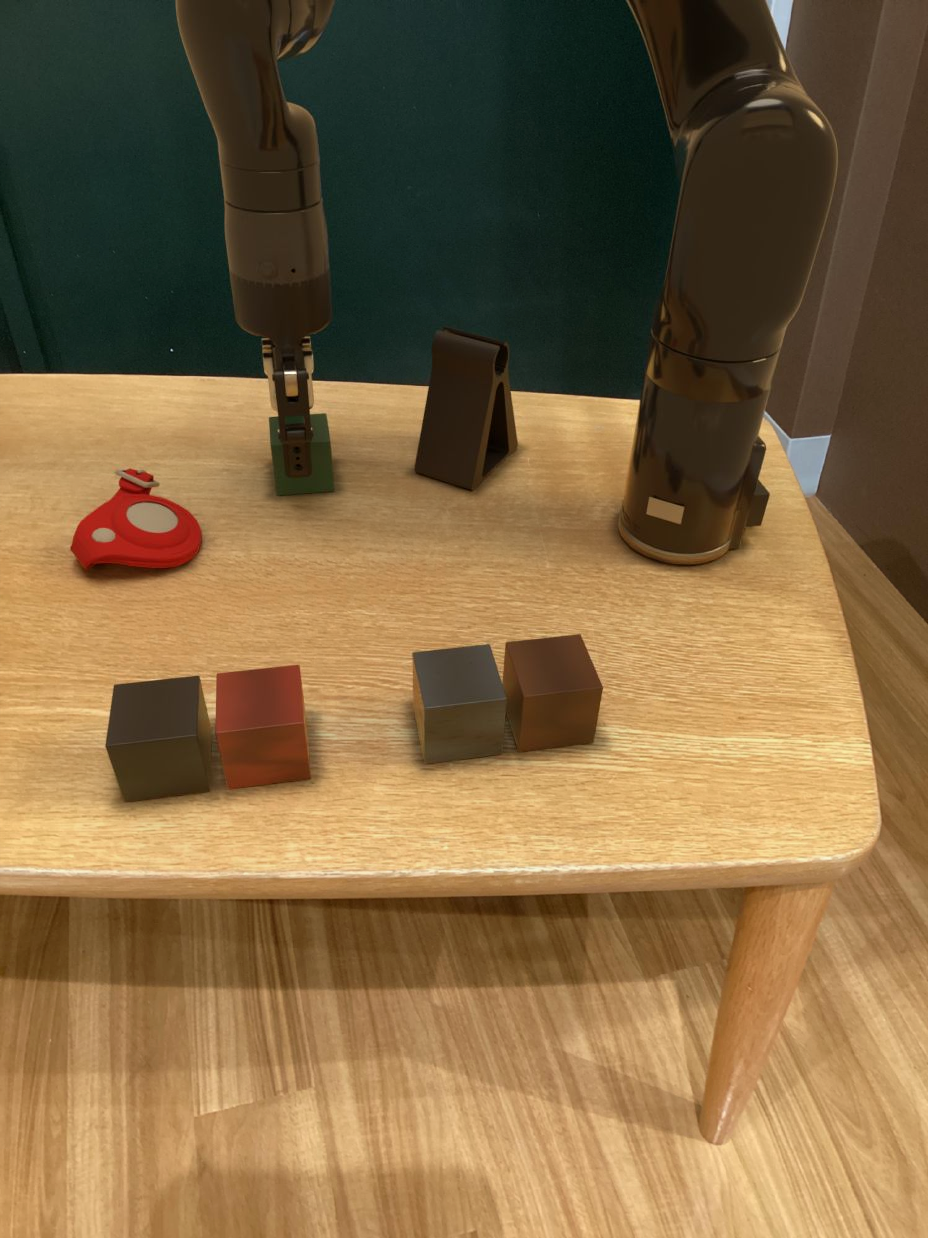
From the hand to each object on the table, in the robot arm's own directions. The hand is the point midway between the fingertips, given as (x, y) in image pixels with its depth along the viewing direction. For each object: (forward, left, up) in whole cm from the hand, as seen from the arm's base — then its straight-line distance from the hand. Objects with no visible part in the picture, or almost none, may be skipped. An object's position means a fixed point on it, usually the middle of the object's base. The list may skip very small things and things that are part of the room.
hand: (296, 449), depth 80 cm
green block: (0, 0, -3) cm, 3 cm away
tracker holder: (+13, +7, -3) cm, 15 cm away
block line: (-2, +32, -3) cm, 32 cm away
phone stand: (-15, -1, -3) cm, 16 cm away
